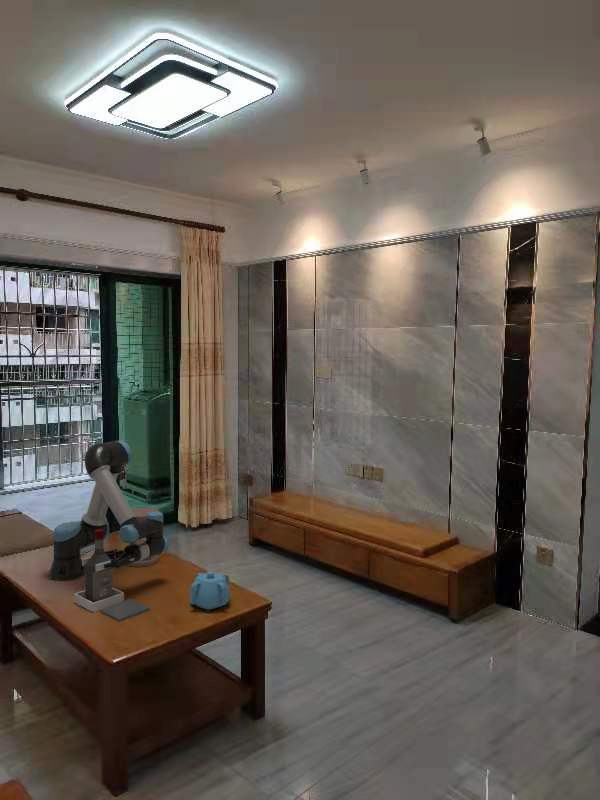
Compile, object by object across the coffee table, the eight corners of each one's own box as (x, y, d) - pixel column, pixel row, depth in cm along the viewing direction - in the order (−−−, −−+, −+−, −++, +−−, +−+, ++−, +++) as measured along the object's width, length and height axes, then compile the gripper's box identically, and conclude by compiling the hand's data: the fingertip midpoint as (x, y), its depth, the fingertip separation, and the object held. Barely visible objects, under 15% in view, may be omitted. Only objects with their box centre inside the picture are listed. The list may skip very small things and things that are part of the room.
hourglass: (116, 559, 289) (116, 510, 288) (148, 553, 301) (148, 505, 300) (132, 569, 276) (132, 518, 275) (165, 562, 288) (165, 512, 287)
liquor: (115, 601, 240) (115, 530, 238) (95, 608, 233) (95, 535, 231) (102, 595, 246) (102, 525, 244) (82, 602, 238) (83, 530, 237)
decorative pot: (233, 598, 247) (234, 566, 246) (224, 614, 231) (225, 580, 230) (196, 595, 248) (197, 564, 248) (184, 611, 232) (185, 577, 232)
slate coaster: (100, 611, 230) (100, 609, 230) (130, 601, 240) (130, 598, 240) (119, 621, 221) (119, 619, 221) (149, 610, 232) (149, 607, 232)
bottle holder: (73, 602, 238) (73, 593, 238) (104, 591, 249) (104, 583, 249) (92, 612, 229) (92, 603, 229) (124, 601, 240) (124, 593, 240)
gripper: (151, 566, 245) (104, 581, 228) (121, 554, 259) (74, 567, 242) (151, 549, 245) (104, 562, 228) (121, 538, 259) (74, 550, 241)
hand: (89, 565), depth 235 cm, fingers closed on liquor, 9 cm apart
